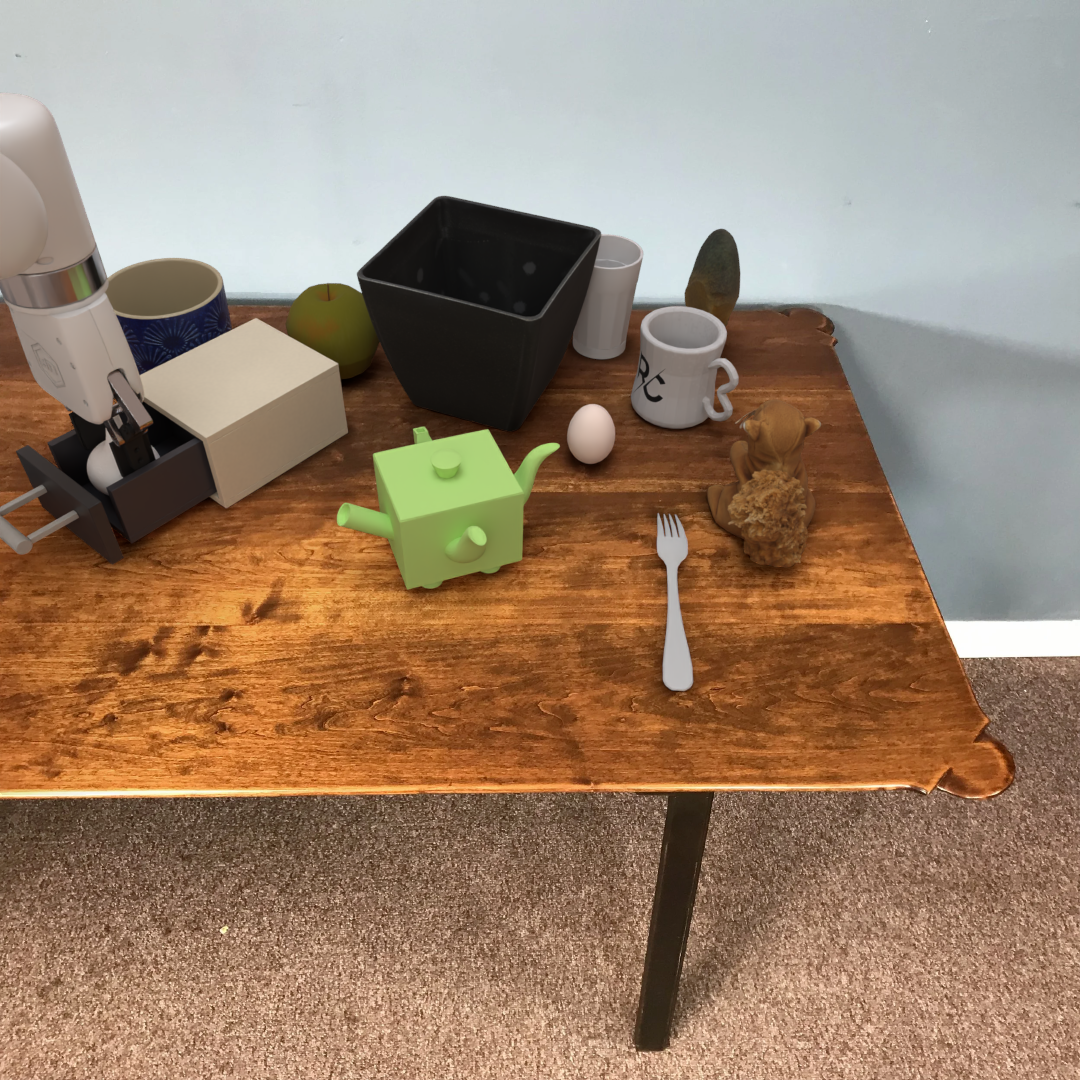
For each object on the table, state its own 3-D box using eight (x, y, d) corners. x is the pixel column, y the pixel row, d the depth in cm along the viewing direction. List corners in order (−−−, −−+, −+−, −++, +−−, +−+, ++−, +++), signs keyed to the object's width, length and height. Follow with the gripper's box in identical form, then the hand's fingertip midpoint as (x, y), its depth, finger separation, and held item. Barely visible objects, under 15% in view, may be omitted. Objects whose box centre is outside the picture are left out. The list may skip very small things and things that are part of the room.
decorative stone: (679, 326, 113) (697, 209, 103) (729, 333, 113) (752, 216, 102) (671, 370, 107) (691, 250, 96) (724, 377, 106) (749, 257, 95)
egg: (569, 442, 97) (572, 389, 92) (614, 448, 96) (620, 395, 91) (562, 471, 93) (565, 418, 88) (609, 477, 93) (615, 425, 88)
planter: (264, 376, 103) (245, 289, 95) (162, 422, 97) (133, 332, 89) (206, 331, 109) (184, 245, 101) (107, 371, 103) (75, 283, 95)
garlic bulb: (90, 468, 86) (61, 398, 80) (160, 452, 88) (137, 383, 82) (97, 510, 82) (67, 440, 76) (170, 493, 84) (146, 423, 78)
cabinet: (226, 508, 88) (206, 437, 82) (147, 453, 93) (123, 382, 87) (348, 432, 96) (338, 363, 90) (270, 385, 102) (256, 317, 96)
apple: (391, 348, 108) (382, 262, 100) (375, 397, 101) (364, 308, 93) (306, 343, 108) (291, 256, 100) (284, 391, 101) (267, 302, 93)
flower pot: (532, 462, 94) (538, 317, 82) (368, 416, 98) (351, 273, 87) (592, 365, 107) (604, 228, 95) (445, 329, 111) (438, 193, 99)
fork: (656, 704, 76) (661, 687, 74) (652, 513, 89) (655, 494, 87) (690, 706, 76) (696, 689, 74) (681, 515, 89) (685, 496, 87)
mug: (612, 403, 102) (621, 324, 95) (668, 373, 106) (680, 295, 99) (696, 458, 95) (712, 378, 88) (752, 424, 100) (772, 345, 93)
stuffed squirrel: (804, 489, 92) (839, 380, 83) (823, 593, 82) (864, 482, 73) (705, 481, 93) (728, 371, 83) (711, 583, 83) (738, 472, 73)
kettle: (556, 524, 88) (561, 432, 80) (495, 631, 78) (495, 538, 70) (415, 482, 91) (407, 389, 83) (341, 579, 82) (324, 485, 74)
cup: (607, 371, 106) (617, 276, 98) (552, 346, 109) (556, 252, 101) (645, 342, 111) (657, 249, 102) (590, 319, 114) (598, 227, 105)
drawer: (52, 602, 78) (22, 545, 73) (-18, 540, 82) (-50, 482, 78) (246, 483, 89) (231, 427, 84) (174, 434, 94) (157, 379, 89)
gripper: (-54, 253, 72) (29, 436, 84) (68, 333, 64) (139, 521, 77) (36, 221, 76) (102, 400, 89) (160, 293, 69) (213, 477, 81)
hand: (119, 454), depth 83 cm, fingers closed on garlic bulb, 5 cm apart
